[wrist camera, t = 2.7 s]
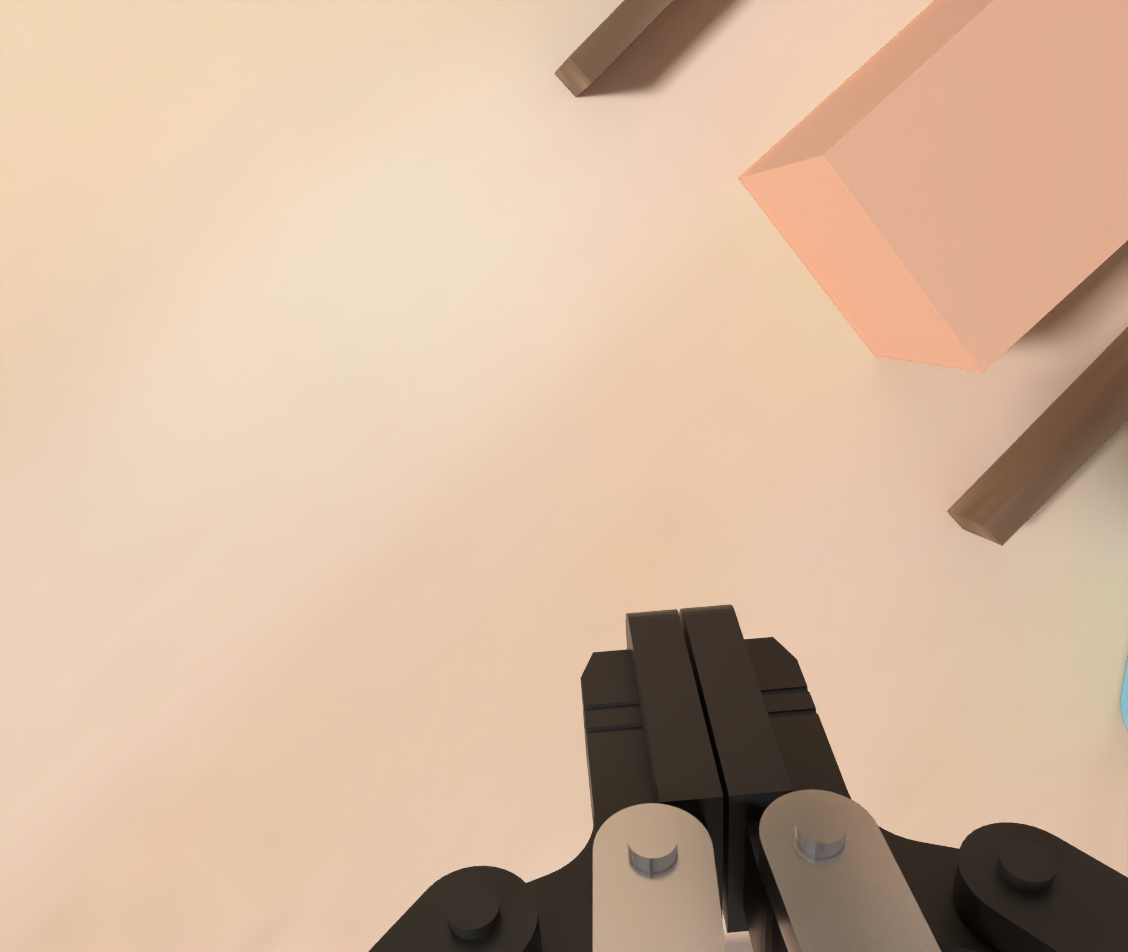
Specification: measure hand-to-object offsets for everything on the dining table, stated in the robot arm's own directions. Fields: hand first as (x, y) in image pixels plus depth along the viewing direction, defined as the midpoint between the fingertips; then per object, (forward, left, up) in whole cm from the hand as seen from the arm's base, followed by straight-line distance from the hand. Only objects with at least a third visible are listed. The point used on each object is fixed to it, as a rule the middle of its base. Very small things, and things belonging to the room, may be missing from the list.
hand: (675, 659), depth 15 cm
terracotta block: (+4, +18, -21) cm, 28 cm away
